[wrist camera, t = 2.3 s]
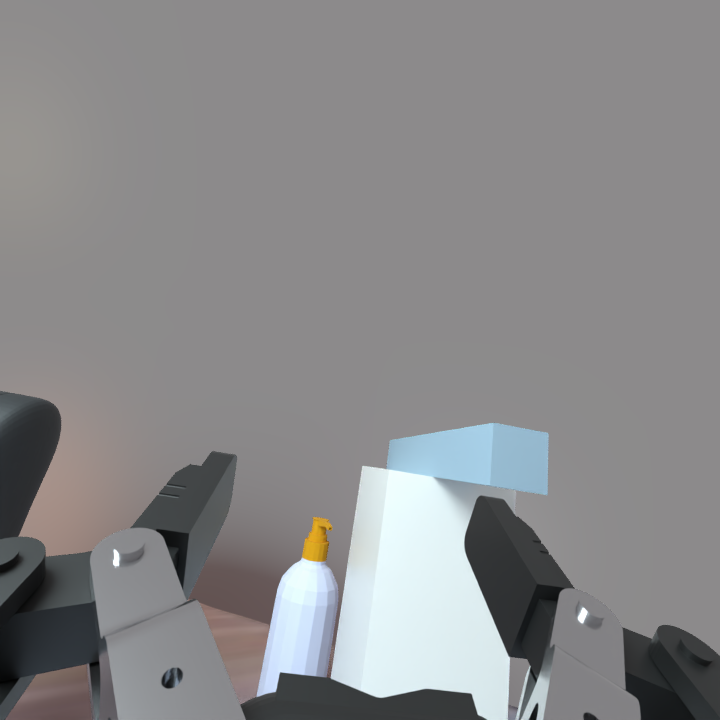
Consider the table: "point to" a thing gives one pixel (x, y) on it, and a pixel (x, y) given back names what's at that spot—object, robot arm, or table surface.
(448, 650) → the storage box
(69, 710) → the table surface
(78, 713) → the table surface
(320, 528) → the soap bottle
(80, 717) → the table surface
